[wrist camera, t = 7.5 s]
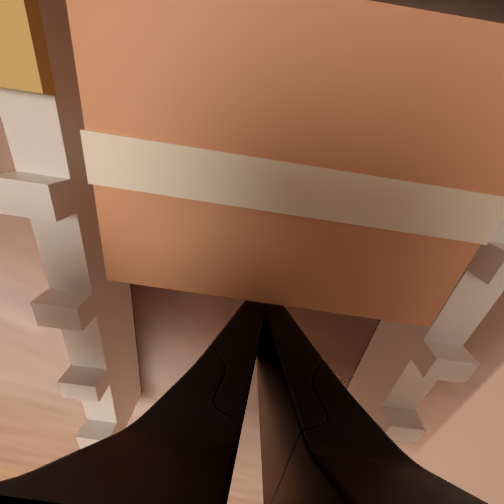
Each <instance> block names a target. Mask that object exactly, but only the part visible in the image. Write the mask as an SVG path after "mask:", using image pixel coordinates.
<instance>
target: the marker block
mask: <svg viewBox="0 0 504 504" xmlns="http://www.w3.org/2000/svg"><path fill="white" fill-rule="evenodd" d="M66 4H67V11H68V18H69V25H70V32H71V38H72V45H73V52H74V59H75V66H76V73H77V79H78V86H79V93H80V100H81V107H82V113H83V120H84V127H85V130H80V134H81V141H82V147H83V154H84V160H85V167H86V173H87V179H88V184H93V188H94V195H95V202H96V209H97V216H98V222H99V229H100V236H101V243H102V250H103V256H104V263H105V270H106V277H107V280H109V281H116V282H123V283H130V284H137V285H144V286H151V287H157V288H164V289H171V290H178V291H185V292H192V293H199V294H206V295H213V296H219V297H226V298H233V299H240V300H247V301H254V302H261V303H268V304H275V305H281V306H288V307H295V308H302V309H309V310H316V311H323V312H330V313H337V314H343V315H350V316H357V317H364V318H371V319H378V320H385V321H392V322H399V323H405V324H412V325H419V326H426V327H430V325H431V324H432V322H433V320H434V319H435V317H436V316H437V314H438V312H439V311H440V309H441V308H442V306H443V304H444V303H445V301H446V300H447V298H448V296H449V295H450V293H451V292H452V290H453V288H454V287H455V285H456V284H457V282H458V280H459V279H460V277H461V276H462V274H463V272H464V271H465V269H466V268H467V266H468V264H469V263H470V261H471V260H472V258H473V256H474V255H475V253H476V252H477V250H478V248H479V247H480V245H481V244H483V245H487V244H488V242H489V241H490V239H491V238H492V236H493V235H494V233H495V231H496V230H497V228H498V227H499V225H500V224H501V222H502V220H503V219H504V24H503V23H497V22H491V21H485V20H480V19H474V18H468V17H463V16H457V15H451V14H445V13H440V12H434V11H428V10H423V9H417V8H411V7H405V6H400V5H394V4H388V3H383V2H377V1H371V0H66Z"/></svg>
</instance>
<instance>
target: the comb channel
mask: <svg viewBox="0 0 504 504" xmlns="http://www.w3.org/2000/svg"><path fill="white" fill-rule="evenodd" d="M0 116H1V119H2V123H3V126H4V130H5V133H6V137H7V140H8V144H9V147H10V151H11V154H12V158H13V161H14V165H15V168H16V171H12V172H6V173H1V174H0V214H5V215H11V216H18V217H25V218H30V221H31V225H32V228H33V232H34V235H35V239H36V242H37V246H38V249H39V253H40V256H41V260H42V263H43V267H44V270H45V274H46V277H47V281H48V284H49V289H48V290H46V291H45V292H43V293H42V294H41V295H39V296H38V297H37V298H35V299H34V300H33V301H31V302H30V303H31V306H32V309H33V312H34V315H35V318H36V321H37V324H38V326H45V327H53V328H60V329H61V330H62V333H63V337H64V341H65V344H66V348H67V351H68V355H69V358H70V362H71V366H70V367H69V368H68V370H67V371H66V372H65V373H64V375H63V376H62V377H61V378H60V379H59V381H58V382H57V383H58V386H59V389H60V392H61V395H62V398H69V399H76V400H82V404H83V407H84V411H85V414H86V418H87V420H86V421H85V423H84V425H83V426H82V428H81V430H80V431H79V433H78V434H77V436H76V439H77V442H78V445H79V448H84V447H87V446H89V445H91V444H93V443H95V442H98V441H100V440H102V439H104V438H107V437H109V436H111V435H113V434H115V433H118V432H120V431H122V430H123V429H125V428H126V425H127V423H128V421H129V419H130V417H131V415H132V413H133V410H134V408H135V406H136V404H137V402H138V400H139V398H140V395H141V385H140V376H139V366H138V356H137V347H136V337H135V327H134V318H133V308H132V298H131V289H130V283H123V282H116V281H109V280H107V277H106V270H105V263H104V256H103V250H102V243H101V236H100V229H99V222H98V216H97V209H96V202H95V195H94V188H93V184H88V179H87V173H86V167H85V160H84V154H83V147H82V141H81V134H80V130H85V127H84V120H83V113H82V107H81V100H80V93H79V86H78V79H77V73H76V66H75V59H74V52H73V45H72V38H71V32H70V25H69V18H68V11H67V4H66V0H0ZM503 291H504V219H503V220H502V222H501V224H500V225H499V227H498V228H497V230H496V231H495V233H494V235H493V236H492V238H491V239H490V241H489V242H488V244H487V245H483V244H481V245H480V247H479V248H478V250H477V252H476V253H475V255H474V256H473V258H472V260H471V261H470V263H469V264H468V266H467V268H466V269H465V271H464V272H463V274H462V276H461V277H460V279H459V280H458V282H457V284H456V285H455V287H454V288H453V290H452V292H451V293H450V295H449V296H448V298H447V300H446V301H445V303H444V304H443V306H442V308H441V309H440V311H439V312H438V314H437V316H436V317H435V319H434V320H433V322H432V324H431V325H430V327H426V326H419V325H412V324H405V323H399V322H392V321H385V320H380V322H379V324H378V326H377V328H376V330H375V332H374V335H373V337H372V339H371V341H370V343H369V345H368V347H367V349H366V351H365V353H364V355H363V357H362V359H361V361H360V363H359V365H358V367H357V369H356V371H355V373H354V375H353V377H352V379H351V381H350V383H349V385H348V387H347V390H348V391H349V392H350V394H351V395H352V396H353V397H354V398H355V399H356V401H357V402H358V403H359V404H360V405H361V406H362V407H363V408H364V410H365V411H366V412H367V413H368V414H369V415H370V416H371V417H372V418H373V420H374V421H375V422H376V423H377V424H378V425H379V426H380V427H381V429H382V430H383V431H384V432H385V433H386V434H387V435H388V436H389V437H390V439H391V440H392V441H399V442H406V443H414V444H416V442H417V441H418V440H419V439H420V438H421V436H422V435H423V434H424V433H425V431H426V430H425V428H424V426H423V424H422V422H421V420H420V418H419V416H418V415H417V413H416V409H417V408H418V406H419V405H420V404H421V402H422V401H423V400H424V398H425V397H426V396H427V394H428V393H429V392H430V390H431V389H432V387H433V386H434V385H435V383H436V382H437V381H438V380H442V381H449V382H456V383H464V384H465V383H466V382H467V380H468V379H469V378H470V377H471V375H472V374H473V373H474V372H475V371H476V369H477V368H478V367H479V366H480V363H479V362H478V361H477V360H476V359H475V358H474V357H473V356H472V355H471V354H470V353H469V351H468V350H467V349H466V348H465V347H464V346H463V345H464V344H465V343H466V341H467V340H468V339H469V337H470V336H471V335H472V333H473V332H474V331H475V329H476V328H477V326H478V325H479V324H480V322H481V321H482V320H483V318H484V317H485V316H486V314H487V313H488V312H489V310H490V309H491V307H492V306H493V305H494V303H495V302H496V301H497V299H498V298H499V297H500V295H501V294H502V293H503Z"/></svg>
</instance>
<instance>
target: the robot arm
mask: <svg viewBox="0 0 504 504" xmlns="http://www.w3.org/2000/svg"><path fill="white" fill-rule="evenodd" d="M256 356H257V377H258V398H259V418H260V439H261V459H262V480H263V500H264V504H488V503H486V502H484V501H482V500H480V499H479V498H477V497H475V496H473V495H471V494H469V493H468V492H466V491H464V490H462V489H460V488H458V487H457V486H455V485H453V484H451V483H449V482H447V481H446V480H444V479H442V478H440V477H438V476H436V475H435V474H433V473H431V472H429V471H428V470H425V469H424V468H423V467H421V466H420V465H418V464H417V463H416V462H414V461H413V460H412V459H411V458H409V457H408V456H407V455H406V454H405V453H404V452H403V451H402V450H401V449H400V448H399V447H398V446H397V445H396V444H395V443H394V442H393V441H392V440H391V439H390V437H389V436H388V435H387V434H386V433H385V432H384V431H383V430H382V429H381V427H380V426H379V425H378V424H377V423H376V422H375V421H374V420H373V418H372V417H371V416H370V415H369V414H368V413H367V412H366V411H365V410H364V408H363V407H362V406H361V405H360V404H359V403H358V402H357V401H356V399H355V398H354V397H353V396H352V395H351V394H350V392H349V391H348V390H347V389H346V388H345V387H344V386H343V384H342V383H341V382H340V381H339V379H338V378H337V377H336V375H335V374H334V373H333V372H332V370H331V369H330V368H329V366H328V365H327V364H326V362H325V361H324V360H323V359H322V357H321V356H320V354H319V353H318V352H317V350H316V349H315V348H314V346H313V345H312V344H311V342H310V341H309V340H308V338H307V337H306V336H305V334H304V333H303V331H302V330H301V329H300V327H299V326H298V325H297V323H296V322H295V321H294V319H293V318H292V317H291V315H290V314H289V313H288V311H287V310H286V309H285V307H284V306H281V305H275V304H268V303H261V302H254V301H247V300H245V302H244V303H243V304H242V305H241V307H240V308H239V309H238V310H237V312H236V313H235V314H234V316H233V317H232V318H231V319H230V321H229V322H228V323H227V325H226V326H225V327H224V328H223V330H222V331H221V332H220V333H219V335H218V336H217V337H216V339H215V340H214V341H213V342H212V344H211V345H210V346H209V347H208V349H207V350H206V351H205V352H204V354H203V355H202V356H201V357H200V358H199V359H198V361H197V362H196V363H195V364H194V365H193V366H192V367H191V368H190V369H189V370H188V371H187V373H186V374H185V375H184V376H183V377H182V378H181V379H180V380H179V381H178V382H176V383H175V384H174V385H173V386H172V387H171V388H170V389H169V390H168V391H167V392H166V393H165V394H164V395H163V396H162V397H161V398H160V399H159V400H158V401H157V402H156V403H155V404H154V405H153V406H152V407H151V408H150V409H149V410H148V411H147V412H145V413H144V414H143V415H142V416H141V417H140V418H139V419H138V420H136V421H135V422H134V423H132V424H131V425H129V426H128V427H126V428H125V429H123V430H122V431H120V432H118V433H115V434H113V435H111V436H109V437H107V438H104V439H102V440H100V441H98V442H95V443H93V444H91V445H89V446H87V447H84V448H82V449H80V450H78V451H75V452H73V453H71V454H69V455H67V456H64V457H62V458H60V459H58V460H55V461H53V462H51V463H49V464H47V465H44V466H42V467H40V468H38V469H35V470H33V471H30V472H28V473H25V474H23V475H20V476H18V477H14V478H10V479H7V480H3V481H0V504H227V500H228V495H229V490H230V485H231V480H232V475H233V469H234V464H235V459H236V454H237V449H238V444H239V439H240V434H241V429H242V424H243V420H244V415H245V410H246V405H247V400H248V395H249V390H250V385H251V380H252V375H253V370H254V365H255V361H256Z"/></svg>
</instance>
